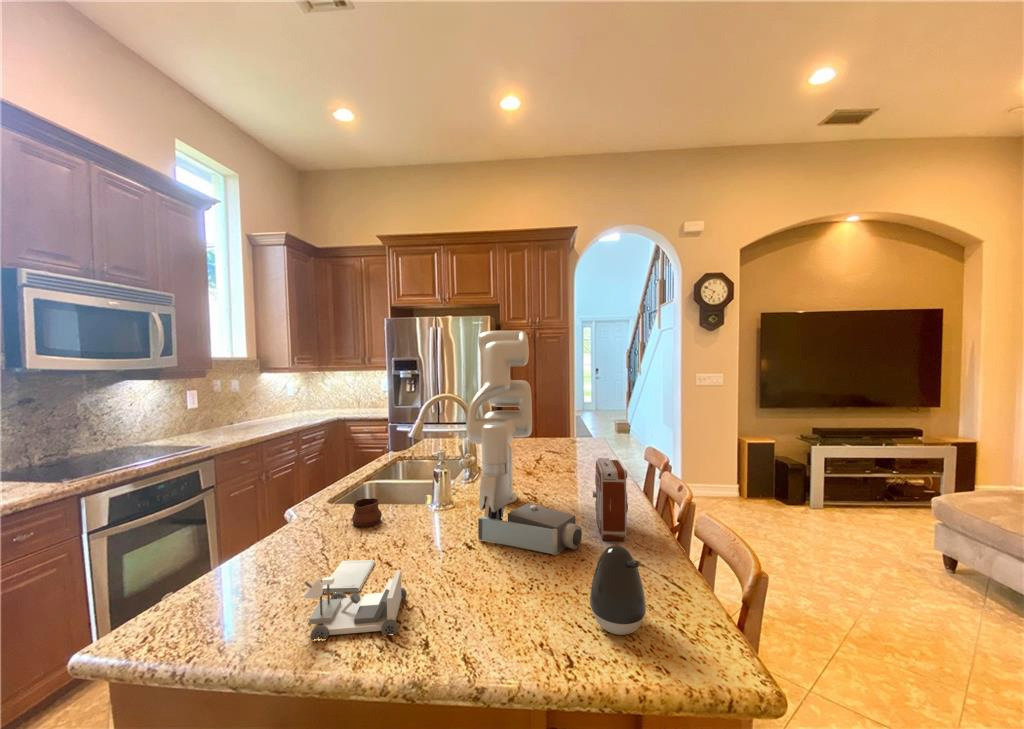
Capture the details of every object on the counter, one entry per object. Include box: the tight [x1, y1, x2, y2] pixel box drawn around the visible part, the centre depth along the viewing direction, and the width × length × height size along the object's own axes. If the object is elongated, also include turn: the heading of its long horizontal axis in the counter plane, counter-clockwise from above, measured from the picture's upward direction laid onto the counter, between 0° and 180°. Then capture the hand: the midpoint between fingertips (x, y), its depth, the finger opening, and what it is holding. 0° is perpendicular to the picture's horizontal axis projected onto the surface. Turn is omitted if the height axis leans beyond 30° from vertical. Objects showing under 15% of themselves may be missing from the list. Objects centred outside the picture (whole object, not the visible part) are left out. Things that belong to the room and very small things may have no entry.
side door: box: [477, 516, 558, 557], centre depth 110 cm, size 23×2×6 cm, turn 65°
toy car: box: [301, 569, 408, 641], centre depth 81 cm, size 18×10×12 cm
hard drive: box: [322, 559, 376, 594], centre depth 96 cm, size 2×8×12 cm
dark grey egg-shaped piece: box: [589, 543, 647, 636], centre depth 78 cm, size 10×10×15 cm
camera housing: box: [507, 502, 583, 555], centre depth 114 cm, size 20×10×8 cm, turn 52°
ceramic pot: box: [335, 497, 383, 532], centre depth 128 cm, size 18×18×7 cm
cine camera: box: [592, 457, 629, 542], centre depth 121 cm, size 9×19×20 cm, turn 174°
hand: (496, 531), depth 116 cm, fingers closed
